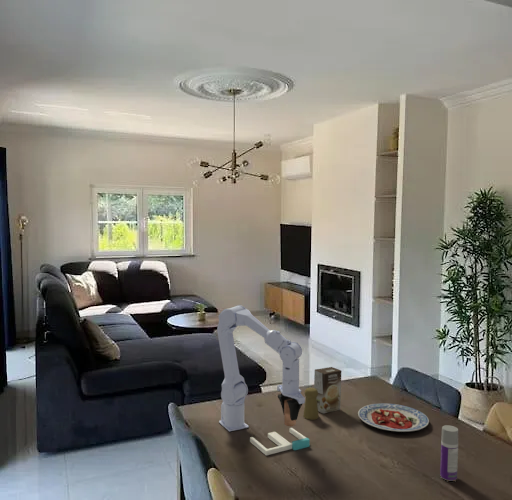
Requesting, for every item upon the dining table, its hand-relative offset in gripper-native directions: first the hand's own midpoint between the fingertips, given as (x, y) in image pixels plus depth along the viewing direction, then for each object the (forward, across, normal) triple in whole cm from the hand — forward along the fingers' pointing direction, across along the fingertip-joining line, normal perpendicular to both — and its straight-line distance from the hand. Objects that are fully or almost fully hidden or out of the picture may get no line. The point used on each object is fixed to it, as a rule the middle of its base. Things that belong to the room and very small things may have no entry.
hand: (290, 417), depth 167 cm
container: (+8, -43, -28) cm, 52 cm away
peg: (+2, 0, 0) cm, 2 cm away
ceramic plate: (+8, -5, -43) cm, 44 cm away
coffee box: (+8, +16, -28) cm, 33 cm away
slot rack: (+8, -1, +5) cm, 9 cm away
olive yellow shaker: (+8, +13, -18) cm, 24 cm away
